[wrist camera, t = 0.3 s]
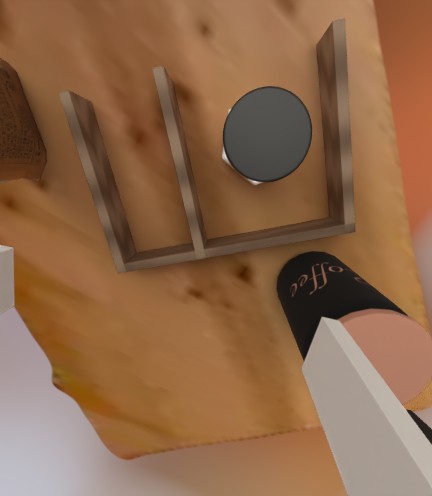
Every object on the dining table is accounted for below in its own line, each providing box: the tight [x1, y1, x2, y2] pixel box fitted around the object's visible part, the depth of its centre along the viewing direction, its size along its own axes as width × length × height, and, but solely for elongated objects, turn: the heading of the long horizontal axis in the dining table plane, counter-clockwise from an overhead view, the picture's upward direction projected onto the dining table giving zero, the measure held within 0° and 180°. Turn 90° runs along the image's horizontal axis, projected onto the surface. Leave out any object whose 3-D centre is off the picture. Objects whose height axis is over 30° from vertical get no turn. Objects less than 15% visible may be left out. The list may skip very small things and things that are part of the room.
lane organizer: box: [59, 18, 355, 273], centre depth 33 cm, size 22×32×5 cm
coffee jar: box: [277, 252, 432, 405], centre depth 31 cm, size 11×11×18 cm
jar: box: [222, 86, 312, 185], centre depth 29 cm, size 9×8×12 cm
